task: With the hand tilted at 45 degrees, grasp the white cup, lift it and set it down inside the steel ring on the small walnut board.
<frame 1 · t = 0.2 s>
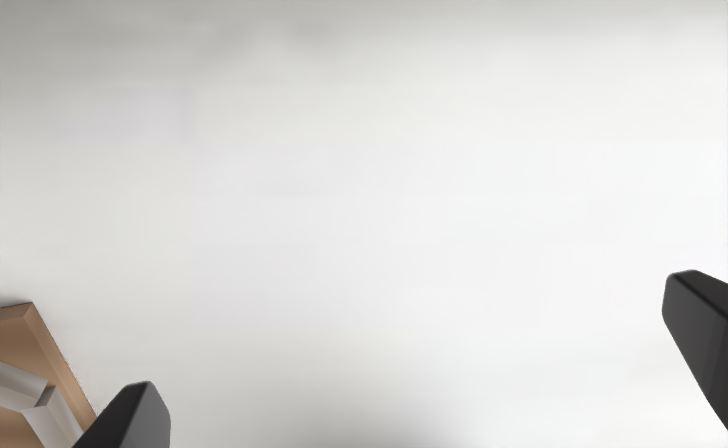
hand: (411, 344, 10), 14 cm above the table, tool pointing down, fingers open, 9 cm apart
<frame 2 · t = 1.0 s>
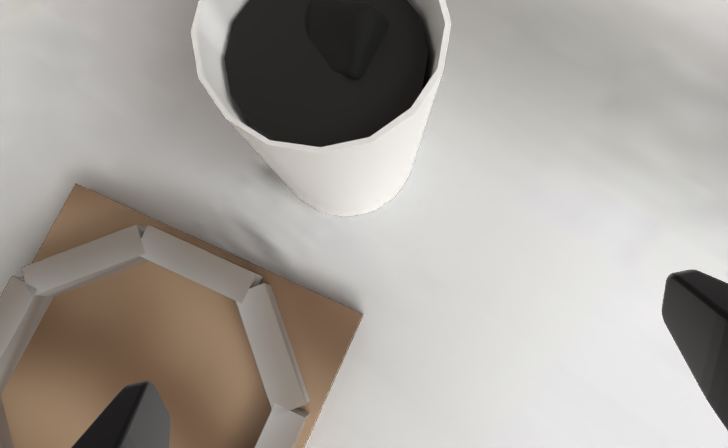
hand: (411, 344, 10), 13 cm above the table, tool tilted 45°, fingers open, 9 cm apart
ring board: (148, 397, 23), on the table
white cup: (347, 152, 24), on the table
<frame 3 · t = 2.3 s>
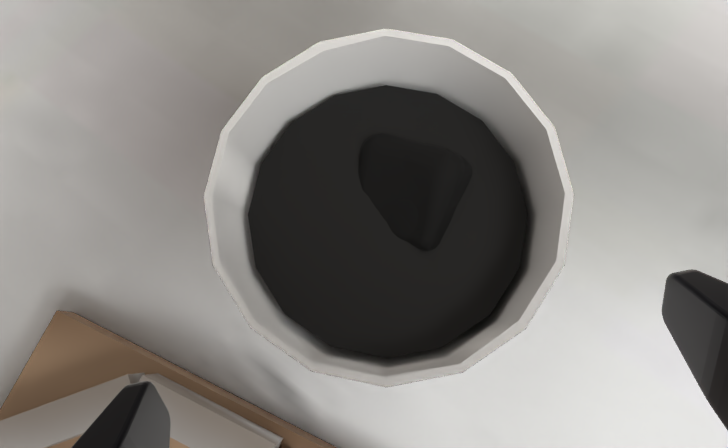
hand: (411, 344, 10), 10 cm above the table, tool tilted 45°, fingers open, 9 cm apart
white cup: (387, 271, 20), on the table
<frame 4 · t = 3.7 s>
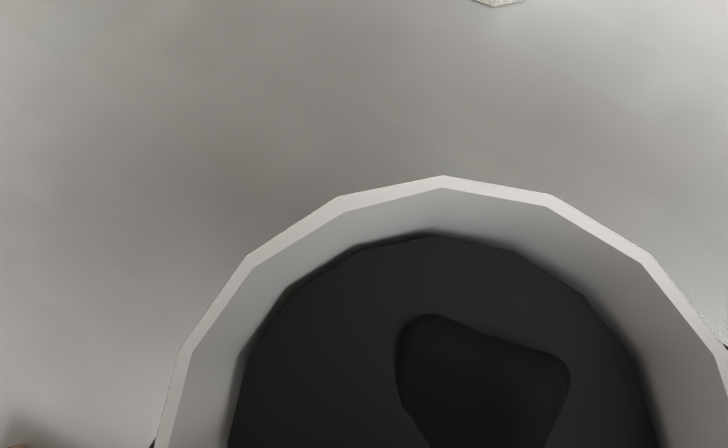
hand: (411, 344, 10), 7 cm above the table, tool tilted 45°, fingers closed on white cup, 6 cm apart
white cup: (415, 392, 16), on the table, touching gripper
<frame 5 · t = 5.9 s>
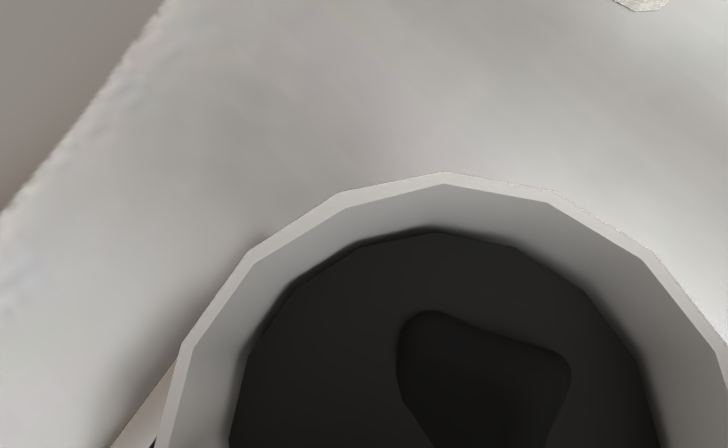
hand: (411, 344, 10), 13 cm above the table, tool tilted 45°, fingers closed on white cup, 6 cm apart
white cup: (415, 388, 16), point 6 cm above the table, touching gripper
when the fingers open (9 cm above the table, at t = 8.1 s): white cup stays where it is, resting on ring board.
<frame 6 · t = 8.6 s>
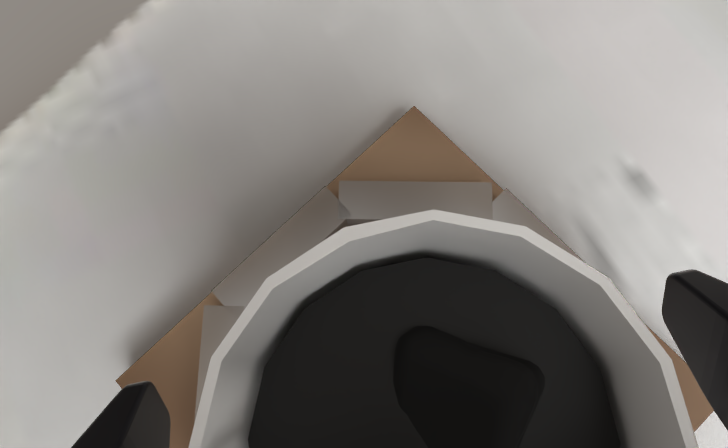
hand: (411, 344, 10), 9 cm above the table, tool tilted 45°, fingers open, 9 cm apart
ring board: (410, 387, 18), on the table
white cup: (411, 392, 17), point 1 cm above the table, touching ring board
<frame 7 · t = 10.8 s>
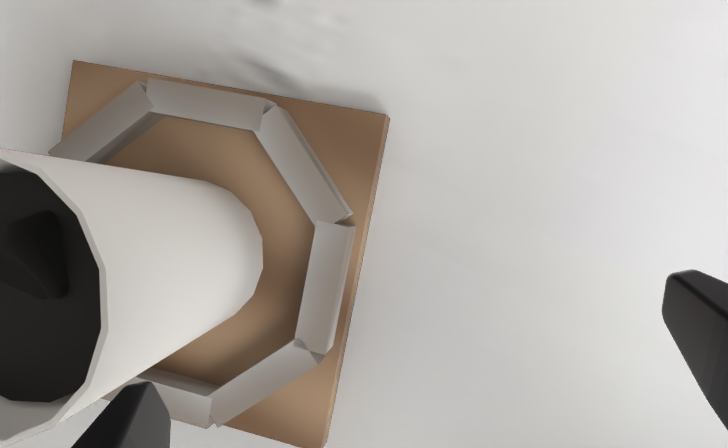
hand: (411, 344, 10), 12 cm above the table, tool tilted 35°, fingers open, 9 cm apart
ring board: (205, 248, 23), on the table
white cup: (196, 252, 22), point 1 cm above the table, touching ring board
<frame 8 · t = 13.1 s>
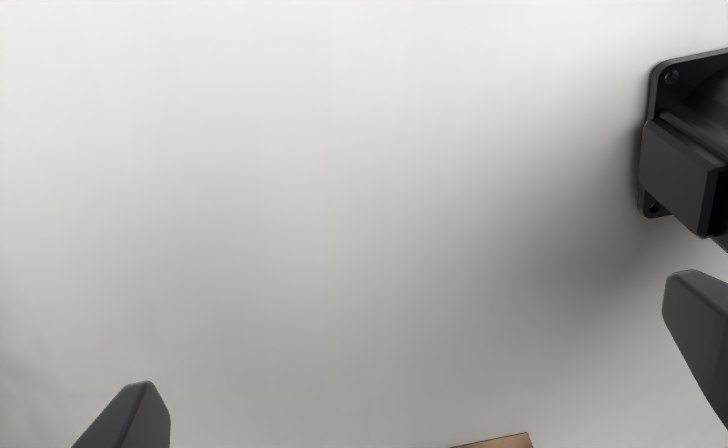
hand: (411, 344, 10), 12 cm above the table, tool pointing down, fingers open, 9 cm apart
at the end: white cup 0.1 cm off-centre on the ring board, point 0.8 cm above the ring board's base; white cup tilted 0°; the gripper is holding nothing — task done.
